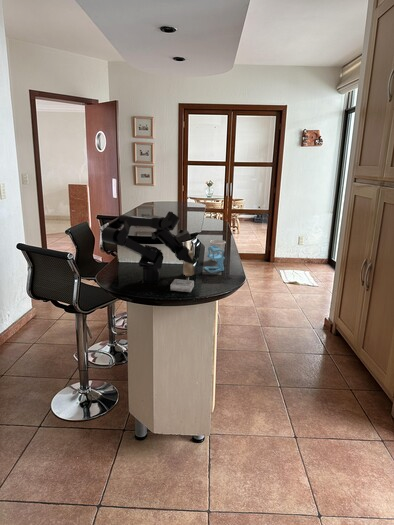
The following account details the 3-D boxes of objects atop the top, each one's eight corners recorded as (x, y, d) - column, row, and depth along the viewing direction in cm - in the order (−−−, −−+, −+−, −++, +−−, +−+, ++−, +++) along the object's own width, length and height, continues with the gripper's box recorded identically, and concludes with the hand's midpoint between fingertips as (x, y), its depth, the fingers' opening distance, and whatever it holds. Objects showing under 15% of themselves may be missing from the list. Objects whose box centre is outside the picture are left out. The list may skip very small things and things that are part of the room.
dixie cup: (218, 263, 189) (219, 244, 186) (205, 259, 193) (206, 241, 190) (227, 259, 195) (228, 241, 192) (214, 256, 200) (215, 238, 197)
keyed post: (184, 276, 167) (185, 252, 164) (183, 273, 170) (183, 250, 167) (194, 275, 168) (195, 252, 165) (192, 273, 171) (193, 250, 168)
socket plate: (170, 290, 149) (170, 284, 149) (174, 284, 156) (174, 278, 155) (190, 292, 148) (190, 286, 147) (193, 286, 155) (194, 280, 154)
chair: (226, 272, 175) (227, 247, 172) (210, 273, 172) (211, 248, 168) (219, 267, 182) (220, 243, 178) (203, 268, 179) (205, 244, 175)
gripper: (185, 229, 153) (209, 253, 159) (175, 221, 170) (197, 243, 176) (166, 248, 153) (191, 271, 159) (158, 238, 170) (181, 259, 176)
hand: (190, 260), depth 168 cm, fingers open, 7 cm apart
